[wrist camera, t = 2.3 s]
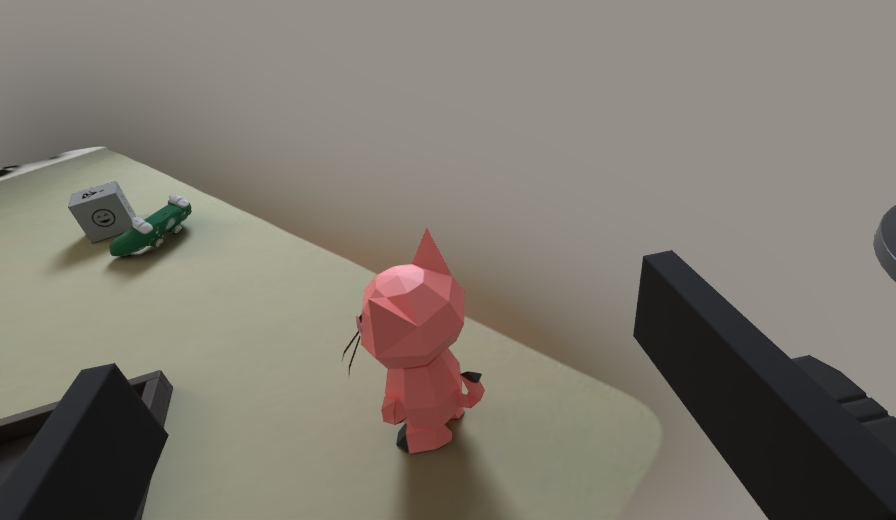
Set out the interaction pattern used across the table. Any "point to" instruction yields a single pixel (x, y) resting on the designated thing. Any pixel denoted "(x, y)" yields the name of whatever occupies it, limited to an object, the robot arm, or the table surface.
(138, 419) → the robot arm
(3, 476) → the black tray
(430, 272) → the cat figurine
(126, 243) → the green elongated piece
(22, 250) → the table surface
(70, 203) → the dice cube
